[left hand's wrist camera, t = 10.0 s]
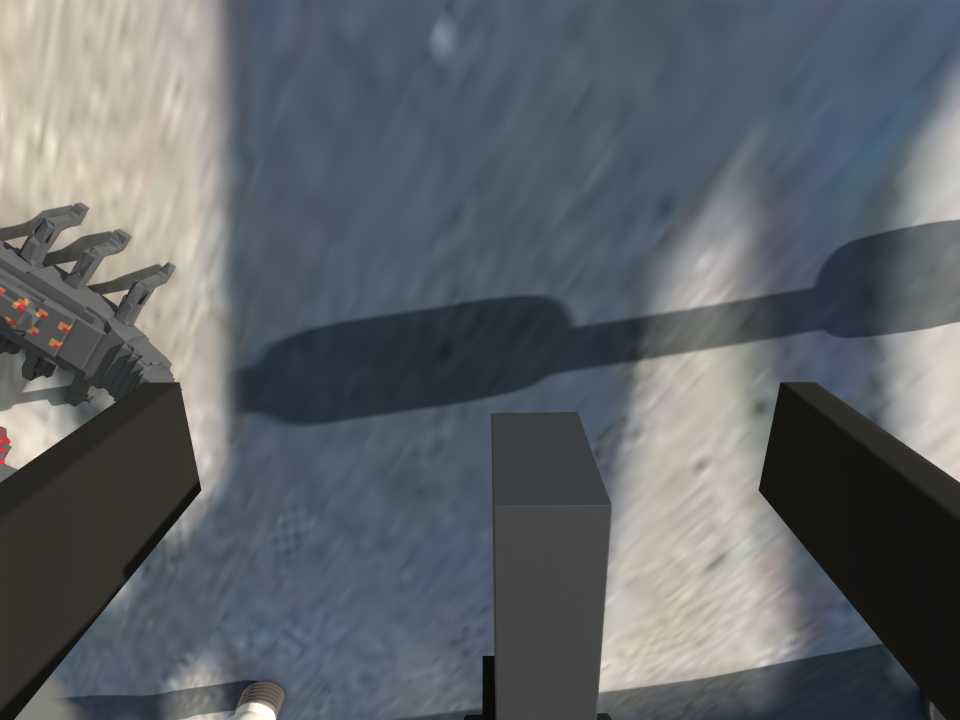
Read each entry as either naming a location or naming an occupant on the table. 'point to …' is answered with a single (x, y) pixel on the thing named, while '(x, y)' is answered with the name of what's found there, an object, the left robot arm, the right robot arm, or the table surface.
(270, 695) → the light bulb
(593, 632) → the bar
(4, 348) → the toy
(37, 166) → the table surface
